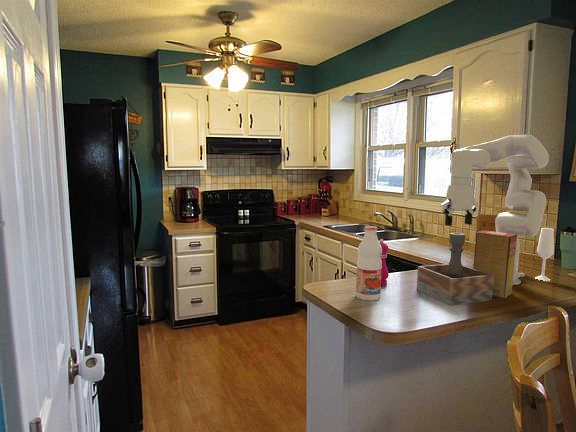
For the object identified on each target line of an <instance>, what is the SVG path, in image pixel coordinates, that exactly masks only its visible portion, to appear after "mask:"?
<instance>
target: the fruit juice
mask: <svg viewBox="0 0 576 432" xmlns="http://www.w3.org/2000/svg"><path fill="white" fill-rule="evenodd" d="M363 229H364V234H363V238H362V241H360V243H359V244H358V247H357V252H358V258H357V262H356V279H355V280H356V283H355V284H356V285H355V296H356V298H357V299H359V300H363V301H369V302H370V301H371V302H372V301H378V300H380V298H381V289H382V286H381V270H382V261H381V258H380V257H381V253H382V247H381V245H380V240H379V237H378V235H377V232H378V226H374V225H365V226H364V228H363Z"/></svg>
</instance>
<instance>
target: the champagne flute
mask: <svg viewBox="0 0 576 432" xmlns="http://www.w3.org/2000/svg"><path fill="white" fill-rule="evenodd" d="M554 231H555V229H554V228H552V227H551V228H550V227H540V234H539V238H538V244H537V247H536V253H537V254H538V256H539V257H540V258H541V259H542V265H541V274H540V275H537V276H535V277H534V278H535V279H534V280H536V279H538V280H537V281H540V280H543V281H542V282H551V281H550V280H551V279H550V278H548V276H546V275H545V274H546V273H545V272H546V262H547V259H549V258H551V257H552V256H553V255H554V254H555V243H554V242H555V240H554V239H555V232H554Z"/></svg>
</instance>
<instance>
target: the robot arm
mask: <svg viewBox="0 0 576 432" xmlns="http://www.w3.org/2000/svg"><path fill="white" fill-rule="evenodd" d="M549 159H550V156H549V152H548V151H547V149H546V148H545V147H544V145H543V144H542V142H541V141H540V140H539V139H538V138H537V137H536V136H534V135H532V134H528V133H527V134H512V135H510V134H509V135H506V136H503V137H500V138H497V139H494V140H491V141H488V142H482V143H479V144H474V145H469V146H466V147H463V148H460V149H454V151H452V155H451V172H450V184H448V187H447V191H446V196H445V201H444V202H442V203H440V208H441V211H442V213H443V215H444V216H445V220H444V225H445V226H448V227H451V226H453V213H454V212H458V211H459V212H460V211H461V212H462V211H463V212H464V211H465V215H464V225H470V226H472V225H473V215H474V214H475V212H476V211H477V208H478V206H479V203H478V202H477V201H475V200H474V188H473V184H472V183H473V181H474V180H473V179H474V178H473V169H484V168H486V167H488V166H489V165H490V164H491V163H493V162H499V161H501V160H505V165H506V167H507V170H508V171H509V174H510V179H509V180H510V181H509V185H508V187H507V188H508V189H507V192H506V196H505V199H504V206H505V207H506V208H507V209H508V210H511V211H517V212H509V211H506V212H500V213H499V214H497V215H498V216H497V217H496V220H495V227H496V232H501V233H509V234H517V236H521V237H522V236H523V237H529V238H530V237H534V236H537V235H538V233H539V231H540V230H541V226H542V221H543V217H544V213H545V211H546V206H547V198H546V197H547V196H546V194H545V193H544V192H543V191H541V190H534V189H531V188H532V184H533V178H532V176H531V175H530V173H529V171H528V170H527V169H532V170H533V169H534V170H535V169H543V168H545V167H546V166H547V165H548V164H549ZM519 212H525V213H519ZM526 212H527V213H526ZM520 248H521V244H520V241H519V237H517V242H516V252H515V262H514V273H513V285H512V286H519V285H520V284H521V282H522V281H521V280H520V279H519V278H523V277H525V272H520V271H519V272H518V270H519V260H520V259H519V258H520Z"/></svg>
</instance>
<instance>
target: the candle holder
mask: <svg viewBox="0 0 576 432" xmlns="http://www.w3.org/2000/svg"><path fill="white" fill-rule="evenodd" d="M448 240H449V245H450V247H449V248H448V249H449V251H450V259H449V263H448V264H449V265H448V268H447V275H448V276H449V277H450V278H461V277H462V275H463V269H462V265H463V264H462V253H463V252H464V248H463V246H464V245H465V242H466V233H462V232H450V233H449V239H448Z"/></svg>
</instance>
